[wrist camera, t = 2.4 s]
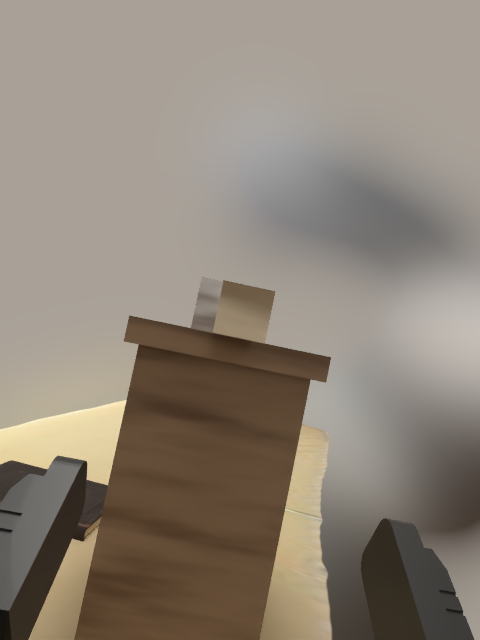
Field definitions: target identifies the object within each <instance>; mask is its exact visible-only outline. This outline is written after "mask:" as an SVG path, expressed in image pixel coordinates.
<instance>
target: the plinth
mask: <svg viewBox="0 0 480 640" xmlns="http://www.w3.org/2000/svg"><path fill="white" fill-rule="evenodd" d="M124 341H125V342H130V343H135V344H139V346H138V351H137V355H136V360H135V365H134V370H133V374H132V379H131V383H130V387H129V392H128V397H127V401H126V406H125V410H124V415H123V420H122V424H121V429H120V433H119V438H118V442H117V447H116V452H115V456H114V461H113V465H112V470H111V475H110V479H109V484H108V488H107V493H106V498H105V502H104V507H103V511H102V516H101V520H100V525H99V530H98V534H97V539H96V543H95V548H94V553H93V557H92V562H91V566H90V571H89V575H88V580H87V585H86V589H85V594H84V598H83V603H82V608H81V612H80V617H79V621H78V626H77V630H76V635H75V640H259V637H260V632H261V627H262V622H263V617H264V612H265V607H266V602H267V597H268V592H269V587H270V581H271V576H272V571H273V566H274V561H275V556H276V551H277V546H278V541H279V536H280V531H281V526H282V521H283V516H284V511H285V506H286V501H287V496H288V491H289V486H290V481H291V476H292V470H293V465H294V460H295V455H296V450H297V445H298V440H299V435H300V430H301V425H302V420H303V415H304V409H305V405H306V400H307V395H308V389H309V385H310V380H311V379H312V380H317V381H321V382H326V380H327V375H328V369H329V365H330V360H331V357H326V356H322V355H316V354H312V353H307V352H302V351H297V350H292V349H288V348H283V347H278V346H273V345H268V344H264V343H259V342H254V341H249V340H244V339H240V338H235V337H230V336H225V335H220V334H216V333H211V332H206V331H201V330H196V329H191V328H187V327H182V326H177V325H172V324H167V323H163V322H158V321H152V320H148V319H143V318H138V317H133V316H129V320H128V325H127V329H126V334H125V338H124Z"/></svg>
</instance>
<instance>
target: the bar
mask: <svg viewBox="0 0 480 640" xmlns="http://www.w3.org/2000/svg"><path fill="white" fill-rule="evenodd" d="M274 295H275V291H271V290H266V289H261V288H257V287H252V286H247V285H243V284H238V283H234V282H229V281H218V280H214V279H209V278H204V277H202V279H201V283H200V288H199V293H198V298H197V302H196V307H195V312H194V316H193V321H192V326H191V329H196V330H201V331H206V332H211V333H216V334H220V335H225V336H230V337H235V338H240V339H244V340H249V341H254V342H259V343H265V339H266V334H267V330H268V325H269V319H270V315H271V310H272V305H273V300H274Z"/></svg>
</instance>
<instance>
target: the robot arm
mask: <svg viewBox="0 0 480 640" xmlns="http://www.w3.org/2000/svg"><path fill="white" fill-rule="evenodd" d="M86 478H87V461H83V460H78V459H73V458H68V457H62V456H57V457H56V458H55V459H54V460H53V462H52V463H51V465H50V467H49V469H48V470H47V472H46V474H45V475H44V476H40V475H35V474H30V473H29V474H28V475H27V476H26V477H24V478H23V479H22V480H21V481H19V482H18V483H17V484H16V485H14V486H13V487H12V488H11V489H10V490H9V491H8V493H7V494H6V496H5V497H4V499H3V501H2V502H1V504H0V640H28V639H29V636H30V634H31V632H32V629H33V627H34V625H35V623H36V620H37V618H38V616H39V613H40V611H41V609H42V606H43V604H44V602H45V600H46V597H47V595H48V593H49V590H50V588H51V586H52V584H53V581H54V579H55V577H56V574H57V572H58V570H59V567H60V565H61V563H62V561H63V558H64V556H65V554H66V551H67V549H68V547H69V544H70V542H71V540H72V538H73V535H74V533H75V531H76V528H77V526H78V524H79V521H80V518H81V515H82V512H83V508H84V504H85V495H86ZM361 573H362V579H363V584H364V589H365V594H366V598H367V603H368V608H369V613H370V618H371V623H372V627H373V632H374V637H375V640H474V638H473V635H472V633H471V630H470V627H469V625H468V622H467V620H466V617H465V616H463V610H462V607H461V604H460V602H459V599H458V597H456V595H455V594H456V592H455V589H454V587H453V585H452V582H451V579H450V577H449V574H448V571H447V570H446V568H445V567H444V565H443V564H442V562H441V561H440V560H439V558H438V557H437V556H436V554H435V553H434V551H433V550H432V549H428V548H424V547H423V544H422V542H421V539H420V536H419V533H418V531H417V529H416V527H415V526H414V525H413V524H412V523H407V522H401V521H396V520H391V519H386V518H385V519H383V520H381V522H380V523H379V525H378V527H377V529H376V530H375V532H374V534H373V536H372V538H371V539H370V541H369V543H368V545H367V546H366V548H365V550H364V553H363V555H362V562H361Z"/></svg>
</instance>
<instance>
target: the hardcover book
mask: <svg viewBox="0 0 480 640" xmlns="http://www.w3.org/2000/svg"><path fill="white" fill-rule="evenodd" d="M46 472H47V469H43V468H39V467H35V466H31V465H28V464H24V463H20V462H16V461H12V460H11V461H8V462H6V463H3V464H1V465H0V504H1V502H2V501H3V499H4V497H5V496H6V494H7V493H8V491H9V490H10V489H11V488H12V487H13V486H14V485H16V484H17V483H18V482H19V481H21V480H22V479H23V478H24V477H26V476H27V475H28V474H29V473H30V474H35V475H40V476H44V475H45V474H46ZM107 488H108V485H104V484H100V483H96V482H93V481H89V480H86V495H85V504H84V508H83V512H82V515H81V518H80V521H79V524H78V526H77V528H76V531H75V533H74V535H73V539H77V540H80V541H84V538H85V537H86V536H87V535H88V534H89V533H90V532H91V531H92V530H93V529H95V528H96V527H97V526H98V525H99V524H100V520H101V516H102V511H103V507H104V502H105V498H106V493H107Z"/></svg>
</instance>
